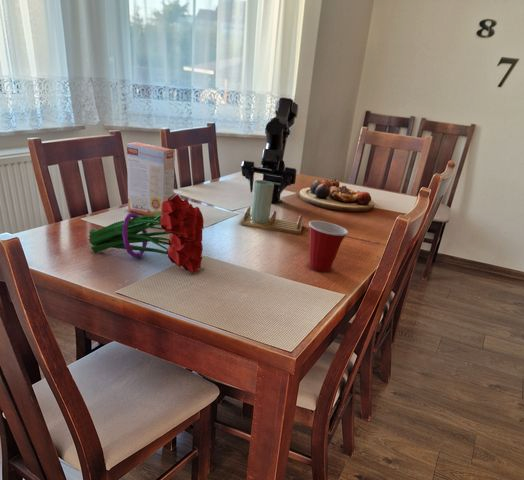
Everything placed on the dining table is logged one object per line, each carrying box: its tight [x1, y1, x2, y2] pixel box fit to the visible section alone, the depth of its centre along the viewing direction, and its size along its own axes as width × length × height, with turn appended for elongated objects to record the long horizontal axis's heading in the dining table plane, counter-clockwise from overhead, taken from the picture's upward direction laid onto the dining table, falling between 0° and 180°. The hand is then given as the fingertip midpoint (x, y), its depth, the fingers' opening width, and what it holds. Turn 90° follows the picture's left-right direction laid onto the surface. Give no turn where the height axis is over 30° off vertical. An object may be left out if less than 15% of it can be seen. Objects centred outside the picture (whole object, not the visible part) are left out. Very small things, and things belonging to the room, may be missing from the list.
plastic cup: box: [308, 220, 349, 273], centre depth 131 cm, size 11×11×12 cm
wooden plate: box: [298, 178, 375, 213], centre depth 201 cm, size 32×32×8 cm
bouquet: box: [88, 194, 205, 275], centre depth 120 cm, size 20×16×30 cm
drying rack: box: [240, 206, 304, 235], centre depth 162 cm, size 10×20×4 cm, turn 82°
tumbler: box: [250, 179, 274, 223], centre depth 159 cm, size 6×6×12 cm
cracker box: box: [126, 141, 176, 216], centre depth 151 cm, size 14×6×21 cm, turn 65°
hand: (264, 193), depth 162 cm, fingers open, 9 cm apart
